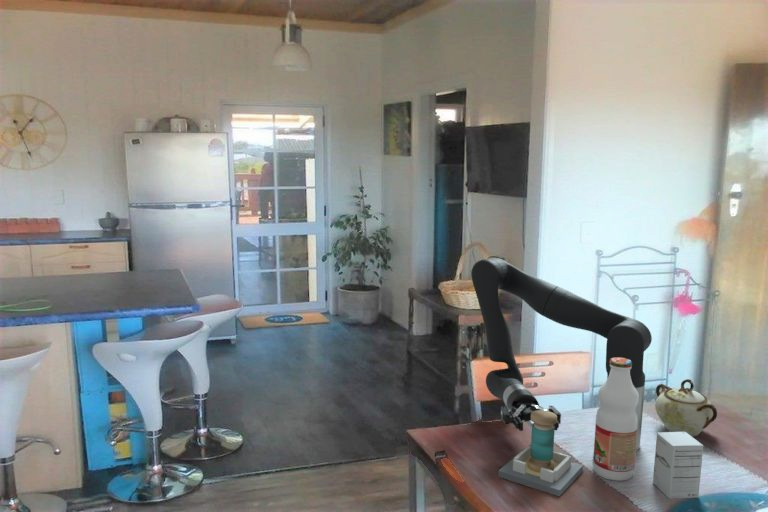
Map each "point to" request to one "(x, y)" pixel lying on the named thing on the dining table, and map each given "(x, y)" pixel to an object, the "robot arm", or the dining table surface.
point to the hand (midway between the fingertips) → (539, 426)
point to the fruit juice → (616, 424)
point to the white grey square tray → (542, 472)
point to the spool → (542, 440)
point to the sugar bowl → (684, 409)
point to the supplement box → (677, 464)
